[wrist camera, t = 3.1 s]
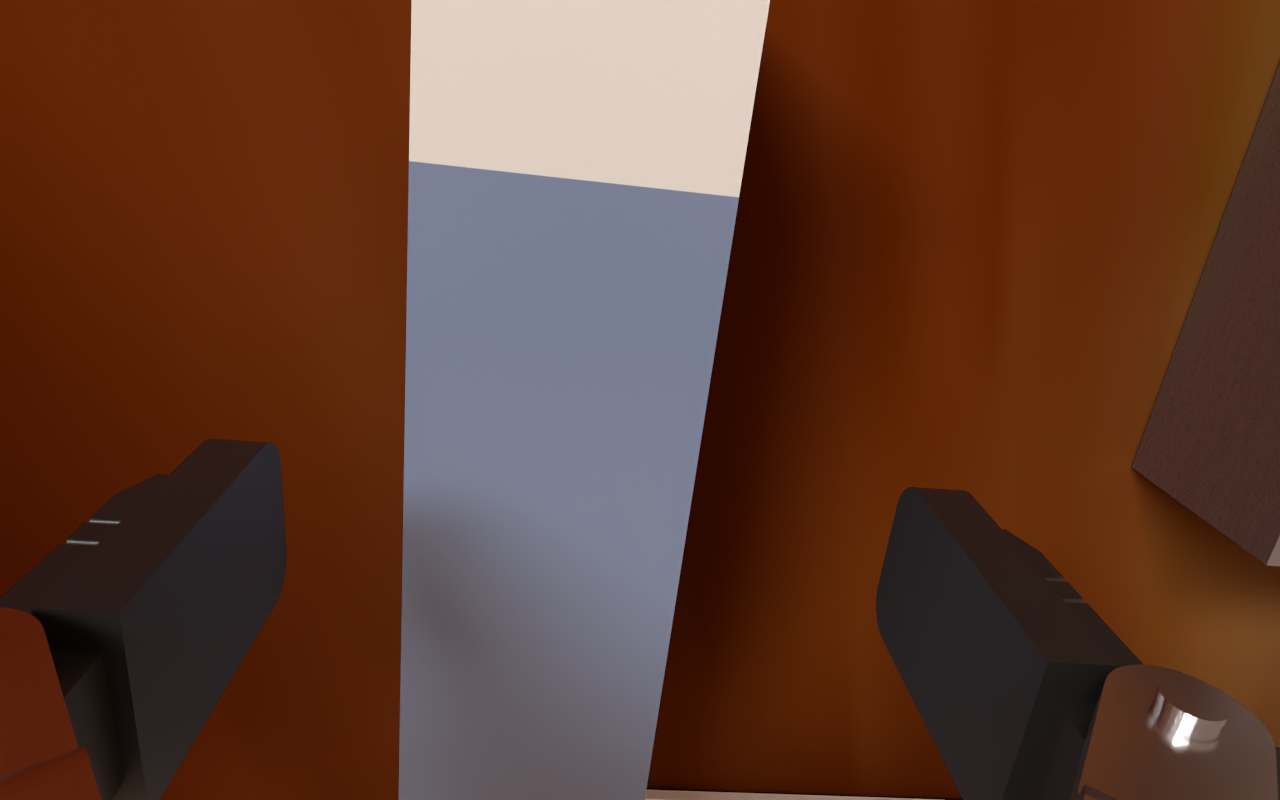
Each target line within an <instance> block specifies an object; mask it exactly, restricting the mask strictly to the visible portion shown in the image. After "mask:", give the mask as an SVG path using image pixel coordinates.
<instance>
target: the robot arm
mask: <svg viewBox="0 0 1280 800" xmlns="http://www.w3.org/2000/svg"><path fill="white" fill-rule="evenodd" d="M285 569H286V539H285V523H284V507H283V491H282V475H281V462H280V456H279V452H278V449H277V447H276V446H275V445H274V444H273V443H266V442H251V441H236V440H221V439H208V440H206V441H204V442H203V443H202V444H201V445H200V446H199V447H198V448H197V449H196V450H195V451H194V452H193V453H192V454H191V455H189V456H188V457H187V458H186V459H185V460H184V461H183V462H182V463H181V464H180V465H179V466H178V467H177V468H176V469H175V470H174V471H173V472H172V473H171V474H170V475H156V476H153V477H151V478H149V479H147V480H145V481H143V482H141V483H139V484H136V485H134V486H132V487H130V488H128V489H126V490H124V491H122V492H120V493H117V494H116V495H115V496H114V497H113V498H111V499H110V500H109V501H108V502H107V503H106V504H105V505H104V506H103V507H101V508H100V509H99V510H98V511H97V512H96V513H95V514H94V515H92V516H91V517H90V521H89V523H84V524H82V525H81V526H80V527H79V528H78V529H77V530H76V531H75V532H73V533H72V534H71V535H70V536H69V537H68V538H67V542H66V544H60V545H59V546H58V547H57V548H56V549H54V550H53V551H52V552H51V553H50V554H49V555H48V556H47V557H46V558H44V559H43V560H42V561H41V562H40V563H39V564H38V565H37V566H36V567H34V568H33V569H32V570H31V571H30V572H29V573H28V574H27V575H25V576H24V577H23V578H22V579H21V580H20V581H19V582H18V583H17V584H15V585H14V586H13V587H12V588H11V589H10V590H9V591H8V592H6V593H5V594H4V595H3V596H2V597H1V598H0V800H160V798H161V797H162V795H163V793H164V791H165V790H166V788H167V786H168V785H169V783H170V781H171V780H172V778H173V776H174V775H175V773H176V771H177V770H178V768H179V766H180V764H181V763H182V761H183V759H184V758H185V756H186V754H187V753H188V751H189V749H190V748H191V746H192V744H193V743H194V741H195V739H196V738H197V736H198V734H199V732H200V731H201V729H202V727H203V726H204V724H205V722H206V721H207V719H208V717H209V716H210V714H211V712H212V711H213V709H214V707H215V705H216V704H217V702H218V700H219V699H220V697H221V695H222V694H223V692H224V690H225V689H226V687H227V685H228V684H229V682H230V680H231V679H232V677H233V675H234V673H235V672H236V670H237V668H238V667H239V665H240V663H241V662H242V660H243V658H244V657H245V655H246V653H247V652H248V650H249V648H250V646H251V645H252V643H253V641H254V640H255V638H256V636H257V635H258V633H259V631H260V630H261V628H262V626H263V625H264V623H265V621H266V620H267V618H268V616H269V614H270V613H271V611H272V609H273V608H274V606H275V604H276V602H277V600H278V598H279V595H280V592H281V589H282V585H283V581H284V576H285ZM1082 599H1083V598H1082V597H1081V596H1080V595H1079V594H1078V593H1077V591H1076V590H1075V589H1074V588H1073V587H1072V586H1071V585H1070V584H1069V583H1068V582H1063V576H1062V575H1061V574H1060V573H1059V572H1058V571H1057V570H1056V569H1055V567H1054V566H1053V565H1052V564H1051V563H1050V562H1049V561H1048V560H1047V559H1046V558H1045V556H1044V555H1043V554H1042V553H1041V552H1039V551H1038V550H1036V549H1035V548H1033V547H1032V546H1030V545H1029V544H1027V543H1025V542H1024V541H1022V540H1021V539H1019V538H1018V537H1016V536H1015V535H1013V534H1011V533H1010V532H1008V531H1007V530H1002V529H1001V528H1000V527H999V526H998V525H997V524H996V522H995V521H994V520H993V519H992V518H991V517H990V516H989V514H988V513H987V512H986V511H985V510H984V509H983V508H982V506H981V505H980V504H979V503H978V502H977V501H976V500H975V498H974V497H973V496H972V495H971V494H970V493H969V492H967V491H962V490H947V489H932V488H917V487H909V488H907V489H906V490H905V491H904V492H903V493H902V495H901V497H900V499H899V501H898V505H897V508H896V513H895V517H894V521H893V525H892V530H891V534H890V538H889V542H888V546H887V551H886V555H885V559H884V563H883V568H882V572H881V576H880V580H879V584H878V589H877V597H876V613H877V622H878V627H879V631H880V634H881V636H882V639H883V641H884V643H885V645H886V647H887V649H888V651H889V653H890V655H891V657H892V659H893V661H894V663H895V665H896V667H897V669H898V671H899V673H900V675H901V677H902V679H903V681H904V683H905V685H906V687H907V689H908V691H909V693H910V695H911V697H912V699H913V701H914V703H915V705H916V707H917V709H918V711H919V713H920V715H921V717H922V719H923V721H924V723H925V725H926V727H927V729H928V731H929V733H930V735H931V737H932V739H933V741H934V743H935V745H936V747H937V749H938V750H939V752H940V754H941V756H942V758H943V760H944V762H945V764H946V766H947V768H948V770H949V772H950V774H951V776H952V778H953V780H954V782H955V784H956V786H957V788H958V790H959V792H960V794H961V796H962V798H963V800H1280V748H1278V747H1275V745H1274V741H1273V739H1272V737H1271V735H1270V733H1269V732H1268V730H1267V729H1266V727H1265V726H1264V725H1263V723H1262V722H1261V721H1260V720H1259V719H1258V718H1257V717H1256V716H1255V715H1254V714H1253V713H1252V712H1250V711H1249V710H1248V709H1247V708H1246V707H1244V706H1243V705H1242V704H1240V703H1239V702H1238V701H1236V700H1235V699H1233V698H1232V697H1231V696H1229V695H1227V694H1226V693H1224V692H1222V691H1221V690H1219V689H1217V688H1215V687H1213V686H1211V685H1209V684H1207V683H1205V682H1203V681H1201V680H1199V679H1196V678H1194V677H1192V676H1189V675H1186V674H1183V673H1180V672H1178V671H1174V670H1170V669H1167V668H1163V667H1157V666H1151V665H1143V664H1142V663H1141V661H1140V660H1139V659H1138V658H1137V657H1136V656H1135V655H1134V654H1133V653H1132V652H1131V650H1130V649H1129V648H1128V647H1127V646H1126V645H1125V644H1124V643H1123V642H1122V641H1121V640H1120V638H1119V637H1118V636H1117V635H1116V634H1115V633H1114V632H1113V631H1112V630H1111V629H1110V628H1109V626H1108V625H1107V624H1106V623H1105V622H1104V621H1103V620H1102V619H1101V618H1100V617H1099V616H1098V614H1097V613H1096V612H1095V611H1094V610H1093V609H1092V608H1091V607H1090V606H1089V605H1088V604H1086V603H1083V602H1082Z"/></svg>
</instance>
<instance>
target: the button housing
mask: <svg viewBox="0 0 1280 800" xmlns="http://www.w3.org/2000/svg"><path fill="white" fill-rule="evenodd" d="M1132 468H1133V469H1135V470H1136V471H1137V472H1139V473H1140V474H1141V475H1143V476H1144V477H1146V478H1147V479H1148V480H1150V481H1151V482H1152V483H1154V484H1155V485H1157V486H1158V487H1159V488H1161V489H1162V490H1163V491H1165V492H1166V493H1168V494H1169V495H1170V496H1172V497H1173V498H1174V499H1176V500H1177V501H1179V502H1180V503H1181V504H1183V505H1184V506H1185V507H1187V508H1188V509H1189V510H1191V511H1192V512H1194V513H1195V514H1196V515H1198V516H1199V517H1200V518H1202V519H1203V520H1205V521H1206V522H1207V523H1209V524H1210V525H1211V526H1213V527H1214V528H1216V529H1217V530H1218V531H1220V532H1221V533H1222V534H1224V535H1225V536H1226V537H1228V538H1229V539H1231V540H1232V541H1233V542H1235V543H1236V544H1237V545H1239V546H1240V547H1242V548H1243V549H1244V550H1246V551H1247V552H1248V553H1250V554H1251V555H1253V556H1254V557H1255V558H1257V559H1258V560H1259V561H1261V562H1262V563H1263V564H1265V565H1267V566H1280V63H1279V66H1278V68H1277V71H1276V74H1275V77H1274V79H1273V82H1272V85H1271V88H1270V90H1269V93H1268V96H1267V98H1266V101H1265V104H1264V107H1263V109H1262V112H1261V115H1260V118H1259V120H1258V123H1257V126H1256V129H1255V131H1254V134H1253V137H1252V139H1251V142H1250V145H1249V148H1248V150H1247V153H1246V156H1245V159H1244V161H1243V164H1242V167H1241V170H1240V172H1239V175H1238V178H1237V180H1236V183H1235V186H1234V189H1233V191H1232V194H1231V197H1230V200H1229V202H1228V205H1227V208H1226V211H1225V213H1224V216H1223V219H1222V221H1221V224H1220V227H1219V230H1218V232H1217V235H1216V238H1215V241H1214V243H1213V246H1212V249H1211V252H1210V254H1209V257H1208V260H1207V262H1206V265H1205V268H1204V271H1203V273H1202V276H1201V279H1200V282H1199V284H1198V287H1197V290H1196V293H1195V295H1194V298H1193V301H1192V303H1191V306H1190V309H1189V312H1188V314H1187V317H1186V320H1185V323H1184V325H1183V328H1182V331H1181V334H1180V336H1179V339H1178V342H1177V345H1176V347H1175V350H1174V353H1173V355H1172V358H1171V361H1170V364H1169V366H1168V369H1167V372H1166V375H1165V377H1164V380H1163V383H1162V386H1161V388H1160V391H1159V394H1158V396H1157V399H1156V402H1155V405H1154V407H1153V410H1152V413H1151V416H1150V418H1149V421H1148V424H1147V427H1146V429H1145V432H1144V435H1143V437H1142V440H1141V443H1140V446H1139V448H1138V451H1137V454H1136V457H1135V459H1134V462H1133V465H1132Z"/></svg>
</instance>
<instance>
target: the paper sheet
mask: <svg viewBox="0 0 1280 800" xmlns="http://www.w3.org/2000/svg"><path fill="white" fill-rule="evenodd" d="M645 800H943V799H913V798H883V797H853V796H824V795H794V794H764V793H734V792H704V791H675V790H646V795H645Z"/></svg>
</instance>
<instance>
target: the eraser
mask: <svg viewBox="0 0 1280 800" xmlns="http://www.w3.org/2000/svg"><path fill="white" fill-rule="evenodd" d="M769 3H770V0H412V14H411V75H410V136H409V197H408V258H407V319H406V380H405V441H404V502H403V563H402V624H401V685H400V746H399V800H645V795H646V789H647V782H648V776H649V770H650V763H651V757H652V750H653V744H654V738H655V731H656V725H657V718H658V712H659V706H660V699H661V693H662V687H663V680H664V674H665V667H666V661H667V655H668V648H669V642H670V635H671V629H672V623H673V616H674V610H675V603H676V597H677V591H678V584H679V578H680V572H681V565H682V559H683V552H684V546H685V540H686V533H687V527H688V520H689V514H690V508H691V501H692V495H693V489H694V482H695V476H696V469H697V463H698V457H699V450H700V444H701V437H702V431H703V425H704V418H705V412H706V406H707V399H708V393H709V386H710V380H711V374H712V367H713V361H714V354H715V348H716V342H717V335H718V329H719V323H720V316H721V310H722V303H723V297H724V291H725V284H726V278H727V271H728V265H729V259H730V252H731V246H732V240H733V233H734V227H735V220H736V214H737V208H738V201H739V195H740V188H741V182H742V176H743V169H744V163H745V157H746V150H747V144H748V137H749V131H750V125H751V118H752V112H753V105H754V99H755V93H756V86H757V80H758V73H759V67H760V61H761V54H762V48H763V42H764V35H765V29H766V22H767V16H768V10H769Z"/></svg>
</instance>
